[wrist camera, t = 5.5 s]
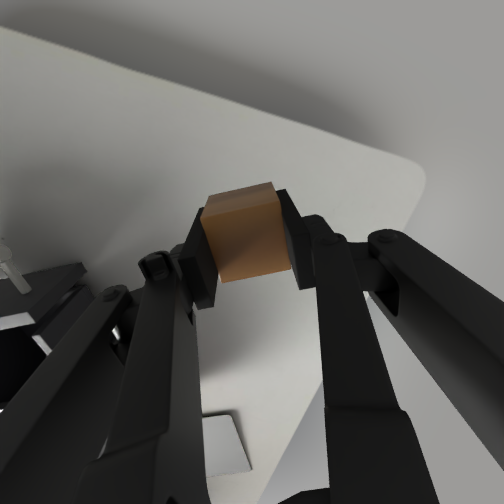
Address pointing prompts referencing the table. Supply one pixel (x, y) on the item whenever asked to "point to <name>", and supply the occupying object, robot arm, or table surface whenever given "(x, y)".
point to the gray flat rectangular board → (223, 447)
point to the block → (246, 232)
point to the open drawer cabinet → (35, 317)
